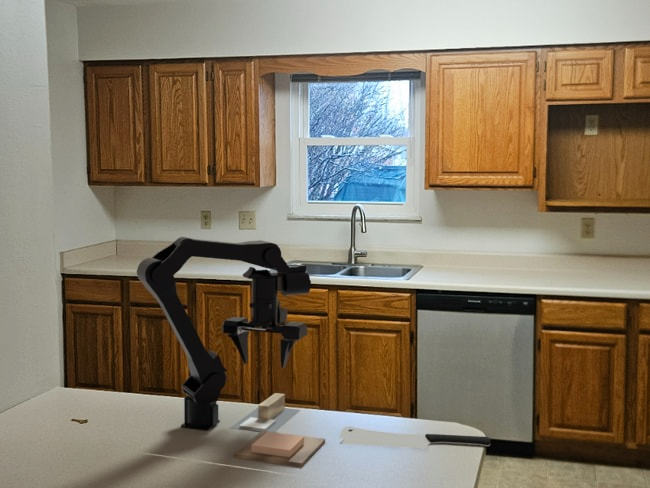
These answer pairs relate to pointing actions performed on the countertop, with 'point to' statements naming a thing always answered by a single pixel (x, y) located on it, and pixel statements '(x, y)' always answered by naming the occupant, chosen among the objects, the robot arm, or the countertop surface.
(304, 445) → the board
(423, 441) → the kitchen cleaver
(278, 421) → the mat
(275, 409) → the turner
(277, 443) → the tile
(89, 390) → the countertop surface
